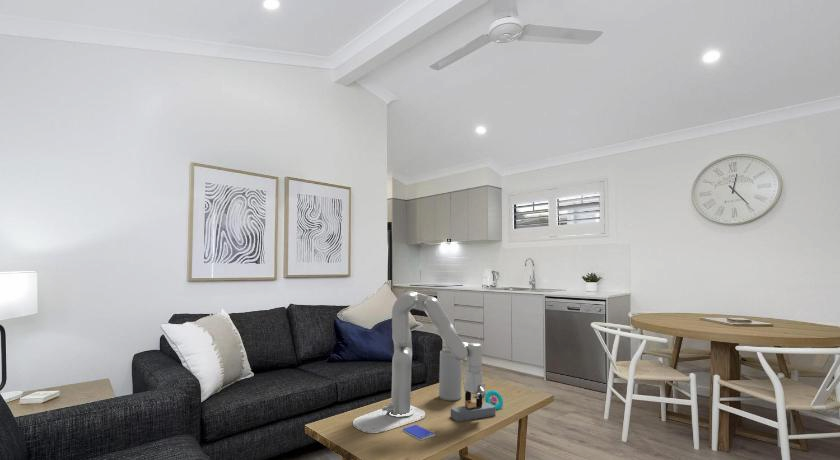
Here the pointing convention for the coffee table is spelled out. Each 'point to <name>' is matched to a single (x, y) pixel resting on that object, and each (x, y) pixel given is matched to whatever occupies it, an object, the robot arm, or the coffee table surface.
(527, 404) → the coffee table surface
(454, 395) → the cylinder vase
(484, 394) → the architectural model
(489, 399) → the ornament
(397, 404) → the robot arm
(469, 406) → the clip
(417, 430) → the hard drive
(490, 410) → the grey slotted block
